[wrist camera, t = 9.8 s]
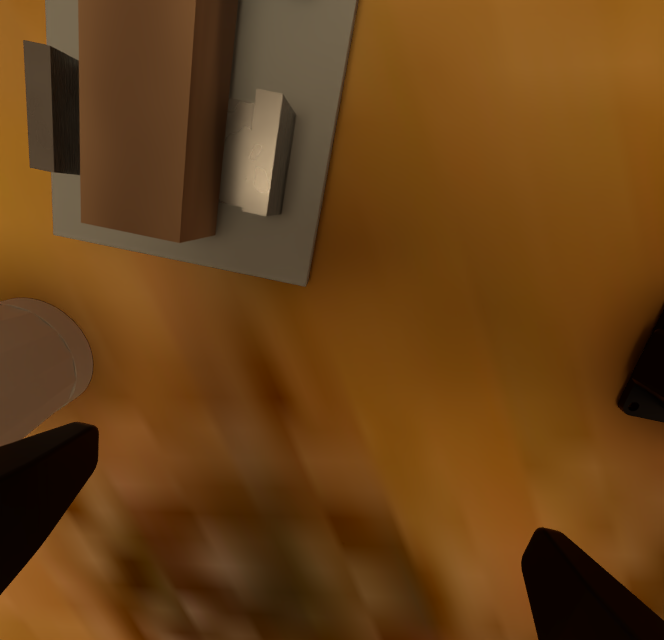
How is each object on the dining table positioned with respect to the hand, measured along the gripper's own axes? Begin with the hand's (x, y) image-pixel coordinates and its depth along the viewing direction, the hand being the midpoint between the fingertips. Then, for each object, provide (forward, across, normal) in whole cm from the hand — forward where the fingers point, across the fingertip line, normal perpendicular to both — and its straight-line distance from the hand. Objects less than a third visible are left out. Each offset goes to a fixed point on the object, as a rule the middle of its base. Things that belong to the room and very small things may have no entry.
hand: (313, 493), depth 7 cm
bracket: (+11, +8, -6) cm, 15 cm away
